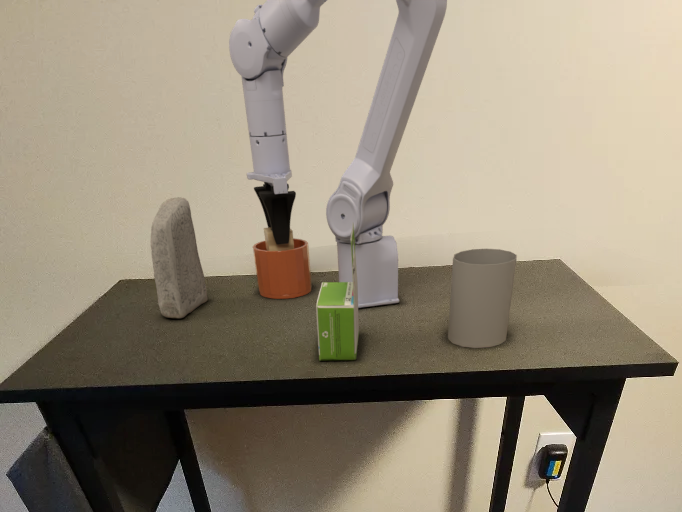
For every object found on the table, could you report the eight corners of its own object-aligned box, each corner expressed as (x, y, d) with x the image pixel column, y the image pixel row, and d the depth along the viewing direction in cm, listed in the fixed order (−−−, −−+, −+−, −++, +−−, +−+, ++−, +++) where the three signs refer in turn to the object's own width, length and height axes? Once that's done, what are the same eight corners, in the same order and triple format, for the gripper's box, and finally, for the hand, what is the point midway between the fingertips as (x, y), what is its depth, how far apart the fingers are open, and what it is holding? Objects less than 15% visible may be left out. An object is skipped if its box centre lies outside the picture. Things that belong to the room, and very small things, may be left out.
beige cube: (290, 246, 102) (287, 224, 100) (294, 251, 99) (292, 229, 97) (266, 248, 101) (263, 227, 99) (270, 254, 98) (267, 232, 96)
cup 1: (305, 281, 108) (301, 235, 103) (316, 295, 102) (312, 247, 97) (256, 286, 107) (249, 241, 102) (263, 301, 100) (257, 253, 96)
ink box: (324, 335, 88) (316, 222, 78) (360, 334, 87) (356, 221, 77) (319, 362, 80) (308, 241, 70) (357, 361, 80) (352, 239, 70)
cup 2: (469, 352, 81) (476, 268, 74) (436, 334, 86) (440, 255, 79) (518, 339, 83) (530, 257, 76) (484, 323, 89) (492, 245, 81)
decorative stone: (188, 321, 95) (162, 207, 84) (154, 320, 96) (124, 207, 85) (213, 300, 102) (193, 193, 91) (181, 299, 103) (157, 193, 92)
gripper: (236, 132, 94) (250, 233, 103) (248, 141, 84) (262, 252, 93) (279, 129, 95) (289, 229, 104) (296, 137, 85) (306, 248, 95)
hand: (279, 240), depth 99 cm, fingers closed on beige cube, 4 cm apart
